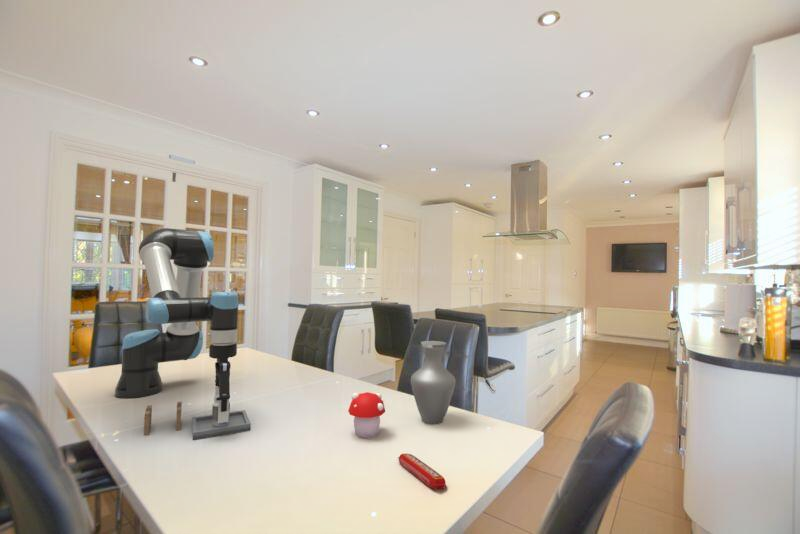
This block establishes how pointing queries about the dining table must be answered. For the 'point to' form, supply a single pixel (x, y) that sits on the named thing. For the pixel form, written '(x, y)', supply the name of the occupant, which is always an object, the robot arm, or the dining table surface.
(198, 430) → the slate tray
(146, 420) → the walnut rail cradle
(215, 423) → the pill bottle
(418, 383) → the vase
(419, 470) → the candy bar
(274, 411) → the dining table surface
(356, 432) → the mushroom
